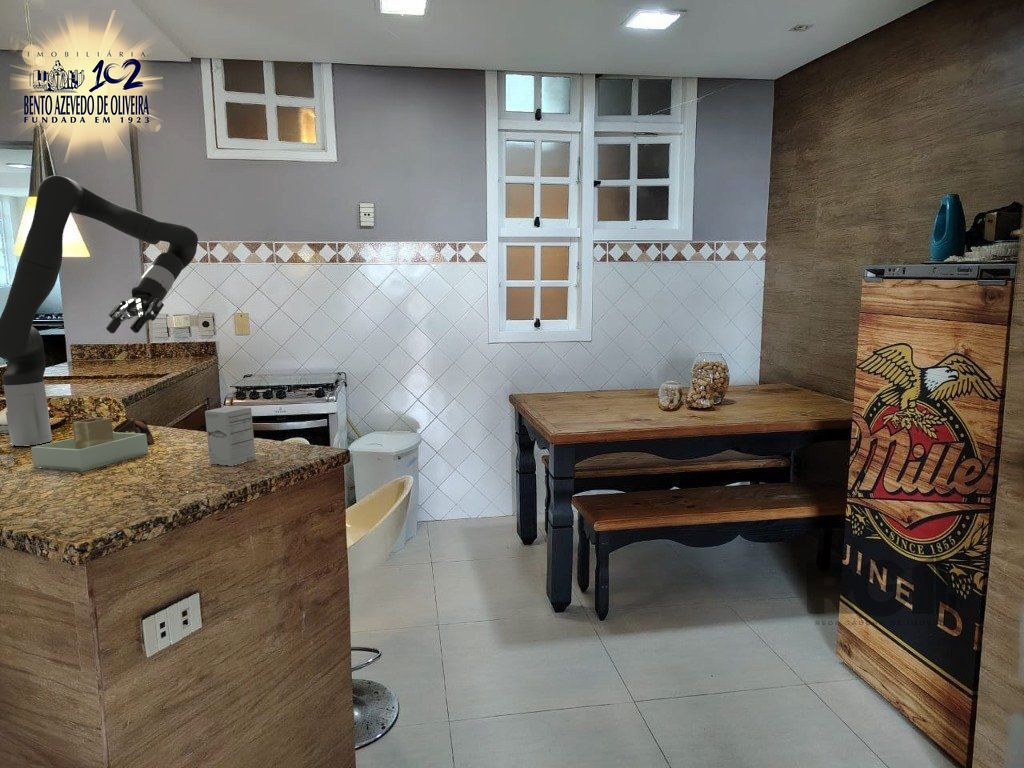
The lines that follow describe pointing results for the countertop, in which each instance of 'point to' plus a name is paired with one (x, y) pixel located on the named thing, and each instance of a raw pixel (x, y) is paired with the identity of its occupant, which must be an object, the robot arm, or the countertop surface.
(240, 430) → the supplement box
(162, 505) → the countertop surface
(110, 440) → the brown cardboard box
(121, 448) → the sage crate
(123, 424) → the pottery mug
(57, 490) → the countertop surface
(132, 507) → the countertop surface
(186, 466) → the countertop surface
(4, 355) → the robot arm
